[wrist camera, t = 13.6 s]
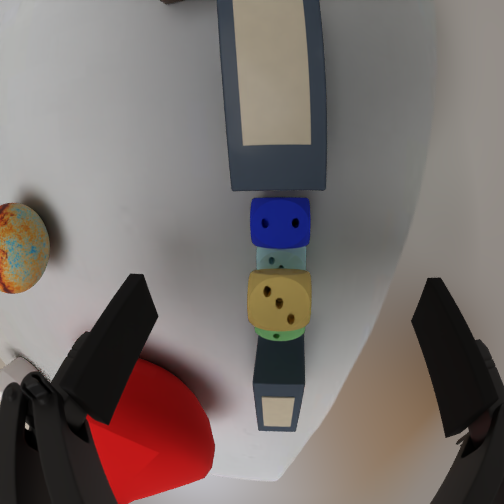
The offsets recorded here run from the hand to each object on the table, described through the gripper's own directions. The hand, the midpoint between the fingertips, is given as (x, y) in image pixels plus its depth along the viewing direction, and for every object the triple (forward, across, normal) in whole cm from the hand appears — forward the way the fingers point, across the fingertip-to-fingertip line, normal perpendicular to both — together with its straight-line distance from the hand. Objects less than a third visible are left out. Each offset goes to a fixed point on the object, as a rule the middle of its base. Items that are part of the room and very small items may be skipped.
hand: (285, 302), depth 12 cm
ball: (+5, -20, +2) cm, 21 cm away
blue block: (+5, 0, 0) cm, 5 cm away
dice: (+5, 0, 0) cm, 5 cm away
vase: (+5, -15, -18) cm, 24 cm away
